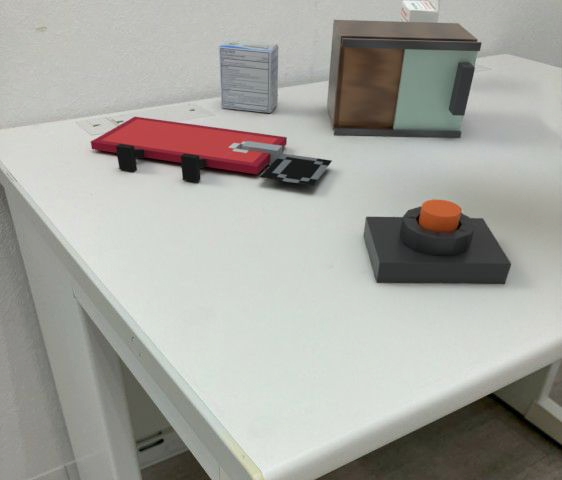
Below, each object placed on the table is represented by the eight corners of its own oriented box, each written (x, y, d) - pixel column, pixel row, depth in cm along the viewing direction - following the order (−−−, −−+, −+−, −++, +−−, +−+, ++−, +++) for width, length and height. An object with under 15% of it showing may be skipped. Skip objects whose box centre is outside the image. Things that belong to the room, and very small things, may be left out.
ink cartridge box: (390, 74, 107) (404, -22, 98) (417, 75, 107) (433, -21, 98) (397, 88, 101) (413, -14, 91) (426, 89, 101) (445, -13, 91)
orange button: (451, 216, 57) (456, 199, 56) (461, 234, 54) (466, 216, 53) (415, 216, 57) (418, 198, 56) (422, 234, 54) (426, 216, 53)
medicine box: (278, 105, 92) (279, 43, 86) (270, 114, 89) (271, 50, 83) (229, 100, 93) (228, 38, 88) (220, 108, 90) (218, 45, 84)
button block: (477, 237, 61) (487, 201, 59) (504, 284, 55) (517, 245, 52) (363, 236, 61) (368, 199, 58) (376, 283, 54) (382, 244, 52)
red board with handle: (308, 199, 66) (340, 155, 77) (309, 175, 64) (342, 133, 75) (75, 162, 73) (136, 126, 84) (71, 139, 71) (133, 105, 82)
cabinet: (441, 110, 93) (458, 23, 85) (460, 137, 84) (481, 42, 76) (326, 108, 92) (333, 19, 84) (334, 135, 83) (342, 38, 75)
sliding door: (458, 129, 84) (477, 45, 77) (464, 137, 82) (484, 51, 75) (392, 128, 84) (405, 43, 77) (396, 136, 82) (410, 49, 75)
